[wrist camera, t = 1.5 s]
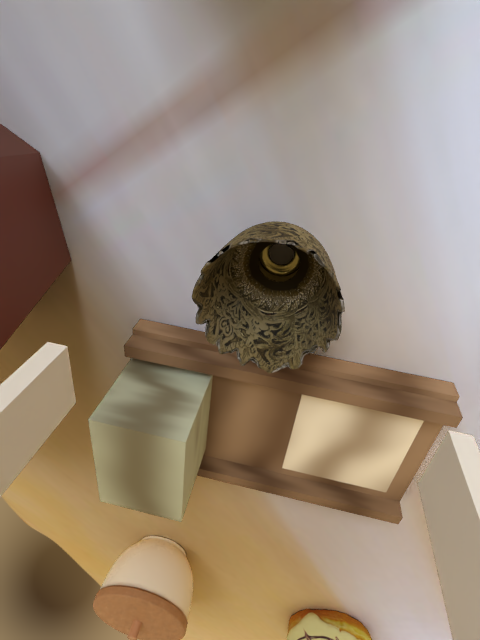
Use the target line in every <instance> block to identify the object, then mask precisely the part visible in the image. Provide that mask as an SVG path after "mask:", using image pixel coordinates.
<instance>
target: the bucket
mask: <svg viewBox="0 0 480 640" xmlns="http://www.w3.org/2000/svg"><path fill="white" fill-rule="evenodd" d="M70 261H71V257H70V254H69V250H68V247H67V244H66V240H65V237H64V233H63V230H62V227H61V223H60V220H59V216H58V213H57V210H56V206H55V203H54V199H53V196H52V193H51V189H50V186H49V183H48V179H47V176H46V172H45V169H44V166H43V162H42V159H41V155H40V152H38V151H37V150H36V149H34V148H33V147H32V146H30V145H29V144H27V143H26V142H25V141H23V140H22V139H21V138H19V137H18V136H17V135H15V134H14V133H12V132H11V131H10V130H8V129H7V128H6V127H4V126H3V125H2V124H0V349H1V348H2V347H3V345H4V344H5V343H6V342H7V340H8V339H9V338H10V337H11V335H12V334H13V333H14V331H15V330H16V329H17V328H18V326H19V325H20V324H21V323H22V321H23V320H24V319H25V318H26V316H27V315H28V314H29V313H30V311H31V310H32V309H33V308H34V306H35V305H36V304H37V303H38V301H39V300H40V299H41V297H42V296H43V295H44V294H45V292H46V291H47V290H48V289H49V287H50V286H51V285H52V284H53V282H54V281H55V280H56V279H57V277H58V276H59V275H60V274H61V272H62V271H63V270H64V269H65V267H66V266H67V265H68V263H69V262H70Z"/></svg>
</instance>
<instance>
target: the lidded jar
mask: <svg viewBox="0 0 480 640" xmlns="http://www.w3.org/2000/svg"><path fill="white" fill-rule="evenodd" d="M192 596H193V574H192V570H191V567H190V564H189V562H188V560H187V558H186V553H185V551H184V549H183V548H182V547H181V546H180V545H179V544H177V543H176V542H174V541H172V540H170V539H168V538H165V537H160V536H147V537H144V538H143V539H142V540H141V541H139V542H137V543H135V544H133V545H131V546H130V547H128V548H127V549H126V550H124V551H123V552H122V553H121V555H120V556H119V557H118V558H117V560H116V561H115V562H114V564H113V565H112V567H111V568H110V570H109V572H108V574H107V575H106V577H105V580H104V582H103V584H102V586H101V589H100V590H99V591H98V593H97V595H96V597H95V599H94V602H93V608H94V610H95V612H96V614H97V615H98V616H99V617H100V618H101V619H102V620H103V621H104V622H105V623H107V624H108V625H109V626H111V627H113V628H114V629H116V630H118V631H120V632H122V633H124V634H126V635H128V637H127V638H128V639H130V640H137V639H140V640H180V639H182V638H183V637H184V635H185V632H186V628H187V624H188V623H187V620H188V616H189V612H190V608H191V603H192Z"/></svg>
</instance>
